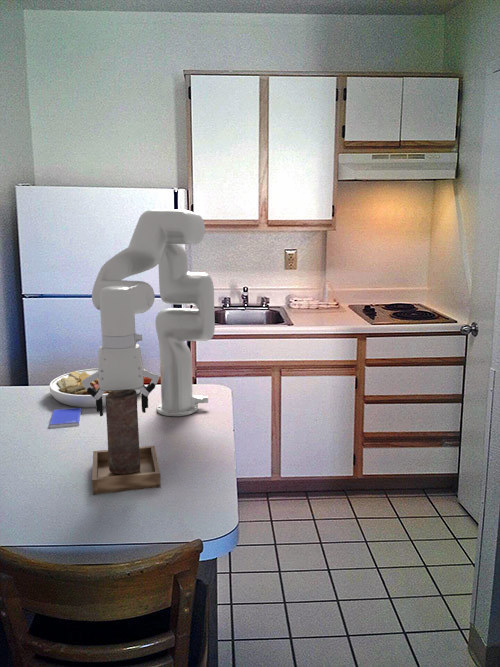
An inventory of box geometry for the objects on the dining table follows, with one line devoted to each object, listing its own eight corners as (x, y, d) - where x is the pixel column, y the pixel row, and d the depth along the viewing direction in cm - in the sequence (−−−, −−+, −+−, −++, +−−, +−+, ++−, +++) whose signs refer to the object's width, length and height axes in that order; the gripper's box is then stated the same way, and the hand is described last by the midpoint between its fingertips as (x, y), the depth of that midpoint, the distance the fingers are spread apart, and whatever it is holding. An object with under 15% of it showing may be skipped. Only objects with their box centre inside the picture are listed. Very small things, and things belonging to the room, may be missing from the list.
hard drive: (78, 422, 179) (81, 407, 191) (49, 424, 178) (53, 409, 190) (79, 427, 180) (81, 412, 192) (49, 429, 178) (53, 414, 190)
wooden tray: (155, 458, 158) (154, 445, 157) (160, 487, 142) (160, 473, 142) (94, 464, 154) (93, 451, 154) (93, 494, 139) (92, 480, 138)
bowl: (49, 415, 189) (47, 390, 187) (51, 385, 217) (49, 363, 215) (149, 405, 197) (148, 381, 195) (138, 378, 225) (137, 357, 223)
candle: (133, 480, 144) (129, 398, 139) (103, 477, 145) (99, 396, 141) (145, 466, 151) (141, 387, 147) (116, 463, 153) (112, 385, 148)
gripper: (156, 335, 146) (158, 404, 150) (80, 339, 143) (84, 410, 146) (159, 342, 139) (161, 415, 143) (78, 347, 135) (83, 421, 139)
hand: (122, 412), depth 145 cm, fingers open, 9 cm apart
